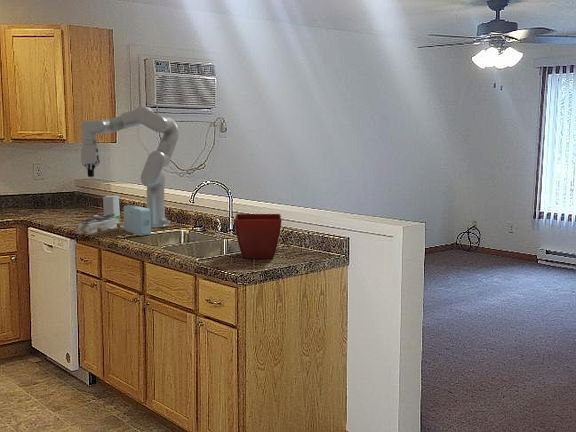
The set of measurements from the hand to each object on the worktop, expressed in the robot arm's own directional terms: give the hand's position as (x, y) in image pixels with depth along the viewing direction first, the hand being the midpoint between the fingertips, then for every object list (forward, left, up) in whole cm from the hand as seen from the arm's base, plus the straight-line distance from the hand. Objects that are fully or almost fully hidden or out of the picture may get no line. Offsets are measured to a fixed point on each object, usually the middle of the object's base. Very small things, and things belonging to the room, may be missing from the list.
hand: (90, 176), depth 380 cm
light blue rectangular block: (-39, +12, -28) cm, 49 cm away
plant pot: (-125, +46, -27) cm, 136 cm away
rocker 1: (-15, +22, -22) cm, 34 cm away
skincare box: (-5, -10, -27) cm, 30 cm away
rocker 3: (-15, +6, -22) cm, 27 cm away
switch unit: (-17, +14, -27) cm, 35 cm away
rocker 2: (-15, +14, -22) cm, 30 cm away
